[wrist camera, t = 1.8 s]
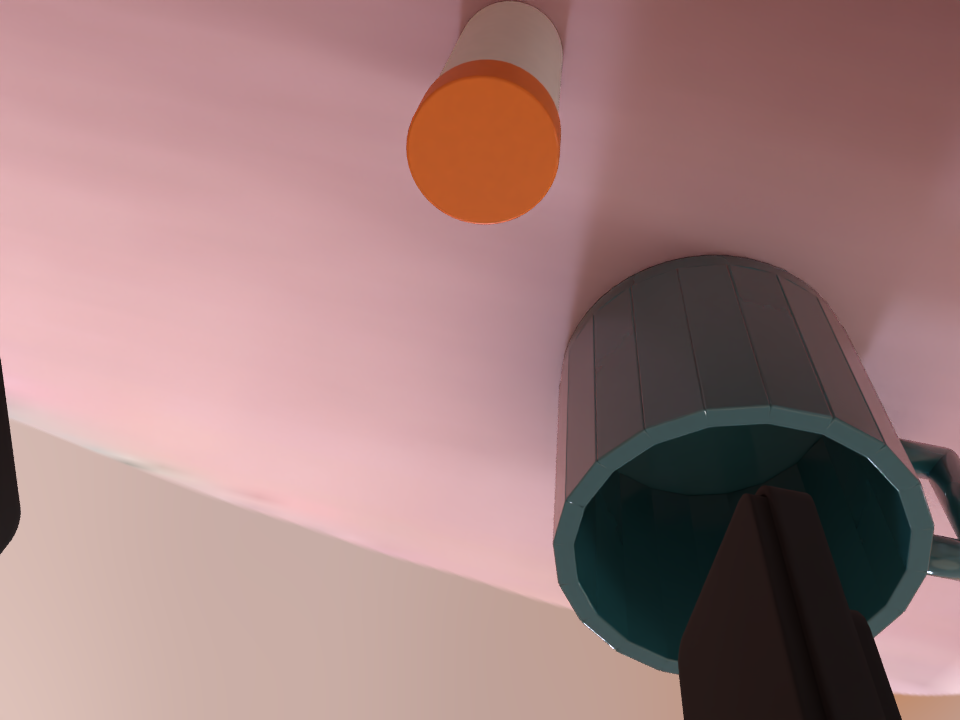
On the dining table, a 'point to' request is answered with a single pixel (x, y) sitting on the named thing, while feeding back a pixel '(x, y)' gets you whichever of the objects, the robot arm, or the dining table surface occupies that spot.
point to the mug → (728, 450)
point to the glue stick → (491, 118)
